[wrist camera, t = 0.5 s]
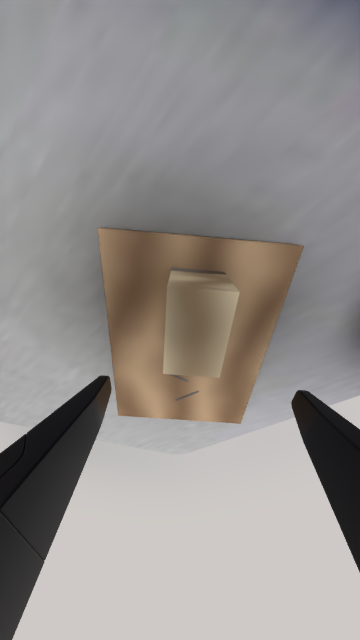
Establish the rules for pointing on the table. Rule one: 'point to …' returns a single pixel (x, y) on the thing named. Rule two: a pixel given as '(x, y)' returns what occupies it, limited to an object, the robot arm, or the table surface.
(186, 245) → the light brown wooden board
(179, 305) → the block
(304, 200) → the table surface
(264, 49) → the table surface
